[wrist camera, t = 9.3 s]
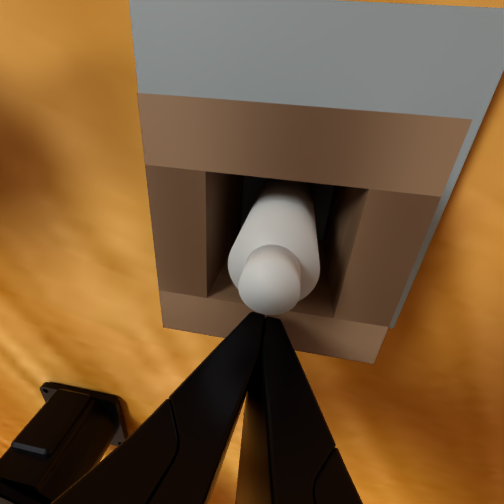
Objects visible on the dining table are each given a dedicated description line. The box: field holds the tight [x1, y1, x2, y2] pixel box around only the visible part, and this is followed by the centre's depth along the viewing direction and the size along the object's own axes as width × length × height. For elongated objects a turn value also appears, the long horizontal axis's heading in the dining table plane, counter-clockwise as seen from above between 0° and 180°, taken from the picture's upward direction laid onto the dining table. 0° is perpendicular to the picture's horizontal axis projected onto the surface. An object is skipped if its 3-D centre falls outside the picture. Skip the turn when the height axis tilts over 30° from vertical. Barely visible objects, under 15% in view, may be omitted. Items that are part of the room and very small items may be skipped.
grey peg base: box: [129, 0, 504, 329], centre depth 9 cm, size 12×12×8 cm
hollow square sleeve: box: [137, 93, 473, 364], centre depth 9 cm, size 6×6×5 cm
